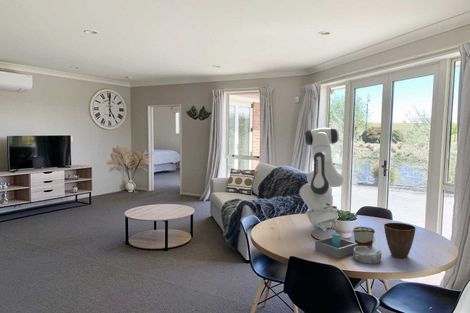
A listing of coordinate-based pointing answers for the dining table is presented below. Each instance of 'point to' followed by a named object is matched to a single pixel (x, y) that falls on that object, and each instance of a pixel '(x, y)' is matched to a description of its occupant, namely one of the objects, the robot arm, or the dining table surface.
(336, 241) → the teal upright cylinder
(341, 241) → the shallow grey tray
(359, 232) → the food container
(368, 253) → the dish
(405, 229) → the plant pot
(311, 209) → the robot arm
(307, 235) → the dining table surface
